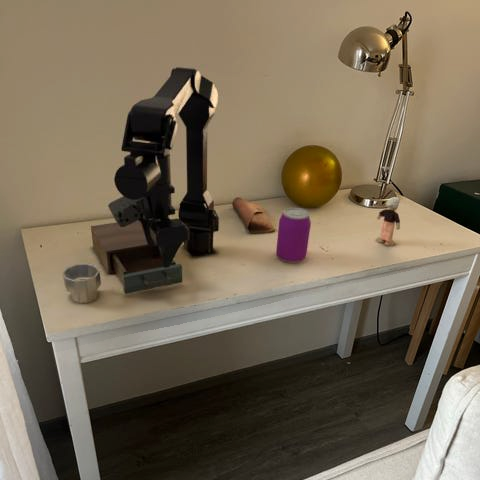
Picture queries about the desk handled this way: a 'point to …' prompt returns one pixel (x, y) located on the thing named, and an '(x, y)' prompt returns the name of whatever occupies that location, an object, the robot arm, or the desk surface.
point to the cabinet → (116, 240)
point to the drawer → (144, 269)
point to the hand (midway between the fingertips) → (158, 256)
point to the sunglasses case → (252, 216)
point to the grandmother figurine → (389, 221)
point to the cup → (82, 282)
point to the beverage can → (293, 235)
